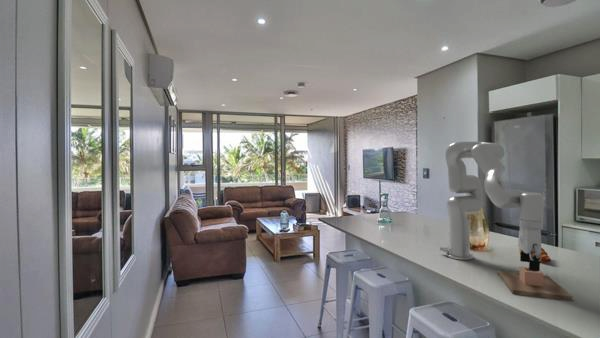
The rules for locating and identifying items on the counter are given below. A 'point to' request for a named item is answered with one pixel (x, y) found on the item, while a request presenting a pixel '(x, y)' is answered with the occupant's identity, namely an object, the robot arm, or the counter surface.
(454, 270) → the counter surface
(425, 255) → the counter surface
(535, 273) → the collar block
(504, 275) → the walnut board
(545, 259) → the croissant
